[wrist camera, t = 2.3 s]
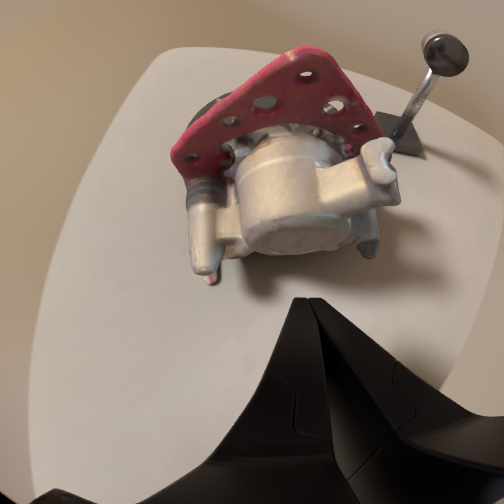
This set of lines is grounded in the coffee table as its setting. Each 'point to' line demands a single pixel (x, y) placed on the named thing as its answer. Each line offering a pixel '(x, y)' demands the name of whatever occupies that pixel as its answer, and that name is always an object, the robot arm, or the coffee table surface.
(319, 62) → the brake caliper
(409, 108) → the stand
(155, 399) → the coffee table surface
